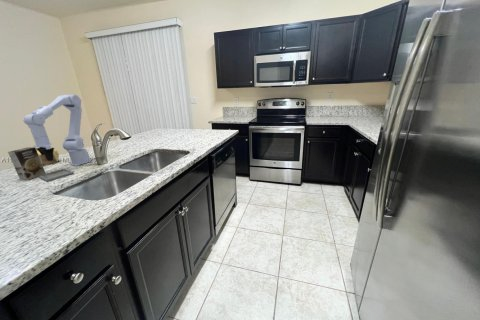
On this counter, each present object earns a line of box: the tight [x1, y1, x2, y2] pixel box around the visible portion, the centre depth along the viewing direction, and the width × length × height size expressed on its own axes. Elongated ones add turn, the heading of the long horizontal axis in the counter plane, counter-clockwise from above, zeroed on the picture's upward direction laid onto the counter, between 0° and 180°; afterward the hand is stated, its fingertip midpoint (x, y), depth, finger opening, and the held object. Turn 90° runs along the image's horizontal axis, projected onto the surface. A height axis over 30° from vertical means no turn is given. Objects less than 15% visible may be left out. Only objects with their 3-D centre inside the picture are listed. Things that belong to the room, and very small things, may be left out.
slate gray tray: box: [38, 168, 75, 183], centre depth 114 cm, size 12×12×1 cm
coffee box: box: [7, 146, 47, 181], centre depth 112 cm, size 9×6×16 cm
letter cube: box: [40, 154, 58, 166], centre depth 115 cm, size 5×5×5 cm
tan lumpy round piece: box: [37, 147, 60, 166], centre depth 136 cm, size 12×12×11 cm
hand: (49, 159), depth 115 cm, fingers open, 5 cm apart
